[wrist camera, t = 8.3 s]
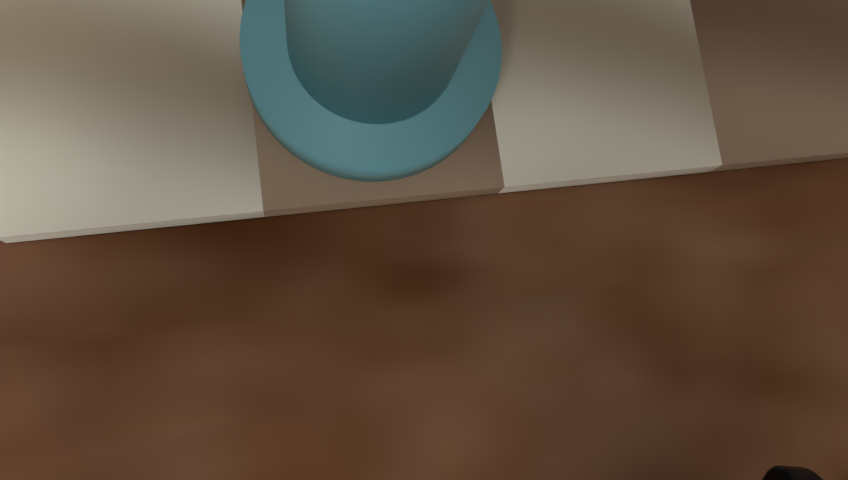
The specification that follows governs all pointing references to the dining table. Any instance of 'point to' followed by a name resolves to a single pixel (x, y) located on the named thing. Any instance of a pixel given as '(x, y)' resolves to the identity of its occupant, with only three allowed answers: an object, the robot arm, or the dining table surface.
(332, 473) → the dining table surface
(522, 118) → the board
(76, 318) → the dining table surface
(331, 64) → the pawn
